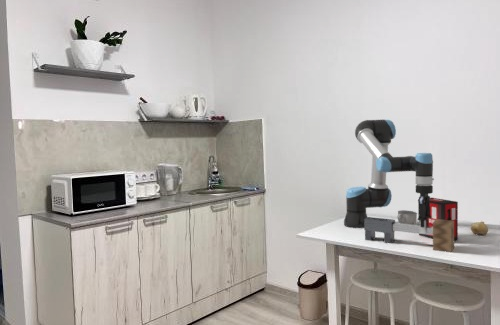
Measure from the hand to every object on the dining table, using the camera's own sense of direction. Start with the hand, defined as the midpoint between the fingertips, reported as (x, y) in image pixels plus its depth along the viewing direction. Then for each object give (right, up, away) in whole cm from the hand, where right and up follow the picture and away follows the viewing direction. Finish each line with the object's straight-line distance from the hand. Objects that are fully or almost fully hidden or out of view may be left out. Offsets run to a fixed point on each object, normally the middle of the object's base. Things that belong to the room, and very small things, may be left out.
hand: (424, 232), depth 183 cm
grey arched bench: (-17, -7, +13) cm, 23 cm away
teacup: (+10, -4, +46) cm, 47 cm away
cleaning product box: (+14, -6, +15) cm, 21 cm away
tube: (-3, -1, +2) cm, 4 cm away
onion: (+39, -5, +20) cm, 44 cm away
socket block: (+7, -7, -5) cm, 11 cm away
